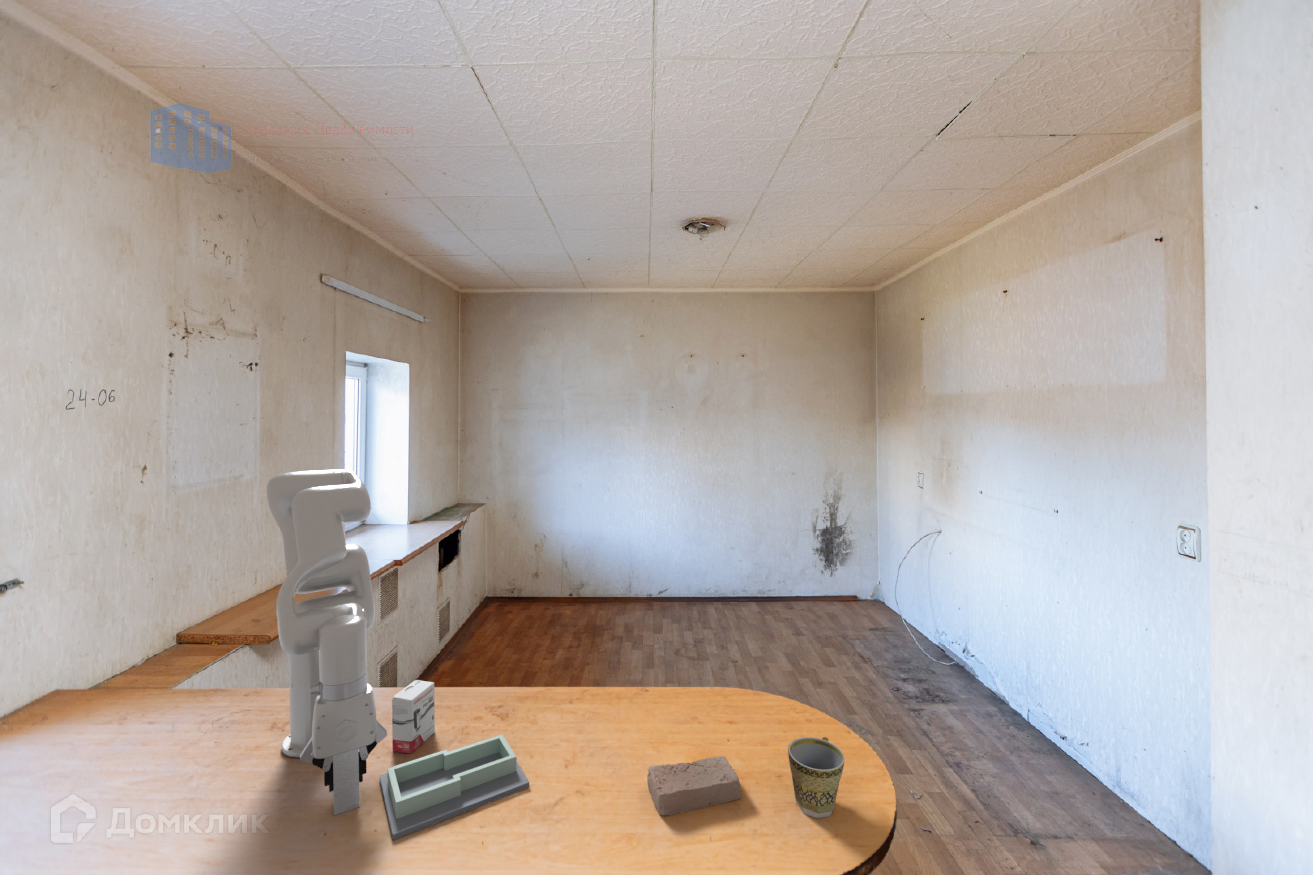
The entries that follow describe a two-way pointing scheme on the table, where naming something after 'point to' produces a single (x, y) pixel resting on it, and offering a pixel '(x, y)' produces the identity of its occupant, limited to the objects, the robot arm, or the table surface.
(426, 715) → the ink box
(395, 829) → the green walled fixture tray
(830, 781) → the ceramic cup
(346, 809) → the metal peg
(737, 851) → the table surface
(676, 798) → the brick
